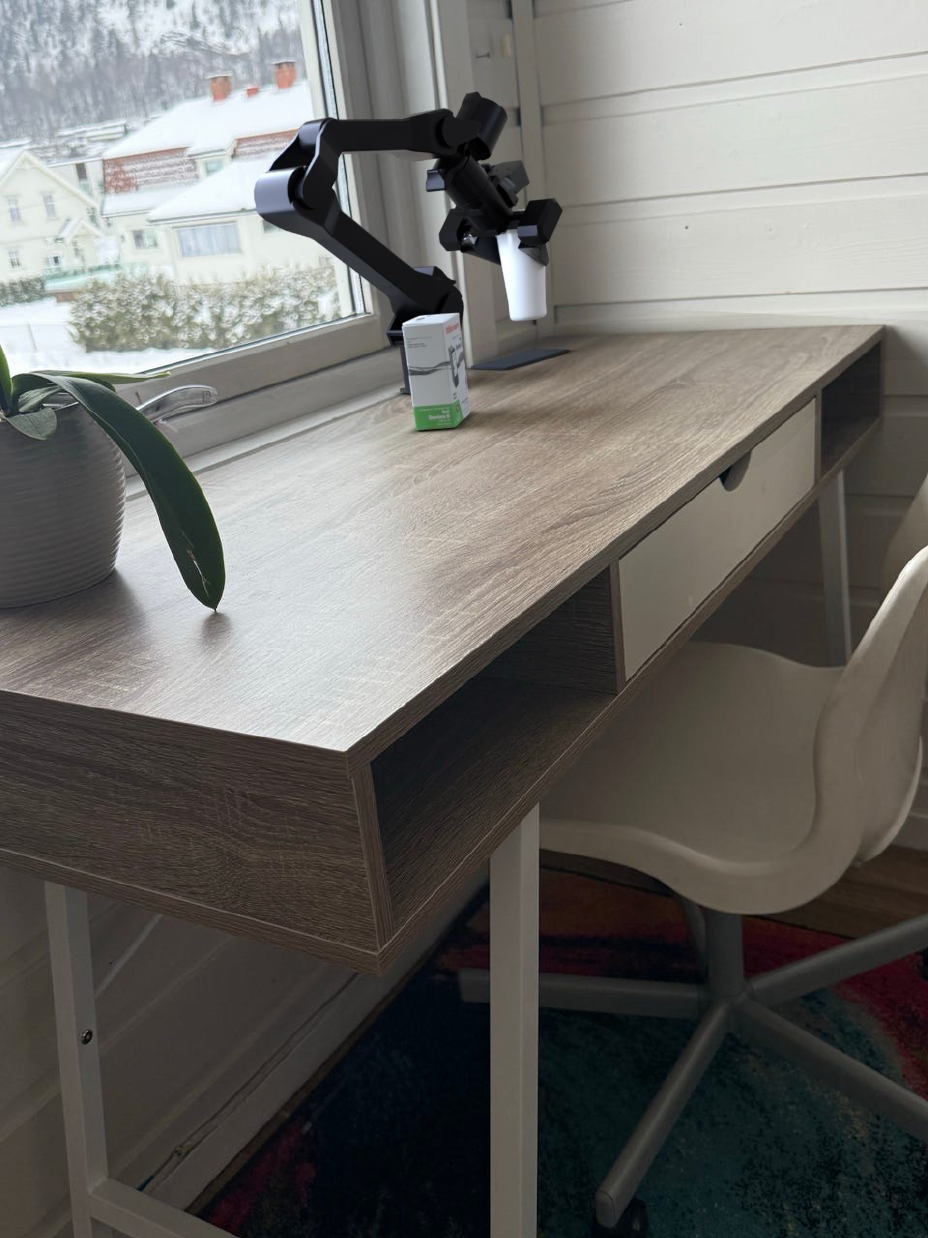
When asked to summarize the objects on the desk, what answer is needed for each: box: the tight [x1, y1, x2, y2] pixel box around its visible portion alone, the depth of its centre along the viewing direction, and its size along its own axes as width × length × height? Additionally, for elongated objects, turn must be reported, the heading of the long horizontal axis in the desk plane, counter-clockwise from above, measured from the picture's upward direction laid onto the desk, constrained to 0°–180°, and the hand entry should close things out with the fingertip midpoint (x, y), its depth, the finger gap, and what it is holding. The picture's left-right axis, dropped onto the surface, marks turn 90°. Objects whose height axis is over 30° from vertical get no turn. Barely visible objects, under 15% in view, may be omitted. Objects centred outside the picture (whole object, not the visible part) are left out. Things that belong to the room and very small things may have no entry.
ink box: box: [402, 313, 471, 431], centre depth 130 cm, size 9×5×12 cm, turn 168°
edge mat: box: [470, 348, 570, 371], centre depth 169 cm, size 14×7×1 cm, turn 136°
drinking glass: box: [496, 208, 548, 322], centre depth 163 cm, size 7×7×15 cm
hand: (528, 264), depth 164 cm, fingers closed on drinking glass, 6 cm apart
